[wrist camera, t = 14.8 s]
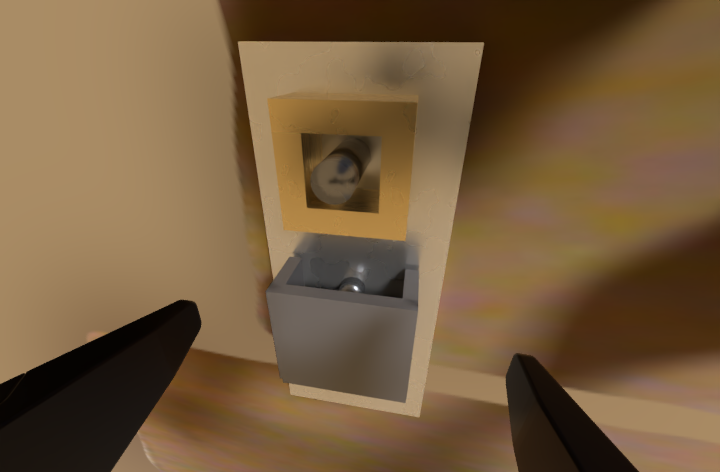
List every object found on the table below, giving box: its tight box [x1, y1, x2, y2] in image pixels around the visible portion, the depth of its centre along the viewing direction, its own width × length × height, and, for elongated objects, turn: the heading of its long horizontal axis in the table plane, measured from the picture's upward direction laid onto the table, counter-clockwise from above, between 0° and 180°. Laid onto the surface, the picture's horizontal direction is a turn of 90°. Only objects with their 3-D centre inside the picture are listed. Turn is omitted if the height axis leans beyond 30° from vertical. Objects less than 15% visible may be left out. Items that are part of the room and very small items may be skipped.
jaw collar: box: [267, 92, 419, 241], centre depth 15 cm, size 6×6×3 cm
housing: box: [266, 257, 419, 403], centre depth 20 cm, size 8×8×4 cm
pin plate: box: [238, 41, 484, 417], centre depth 19 cm, size 11×26×6 cm, turn 0°
